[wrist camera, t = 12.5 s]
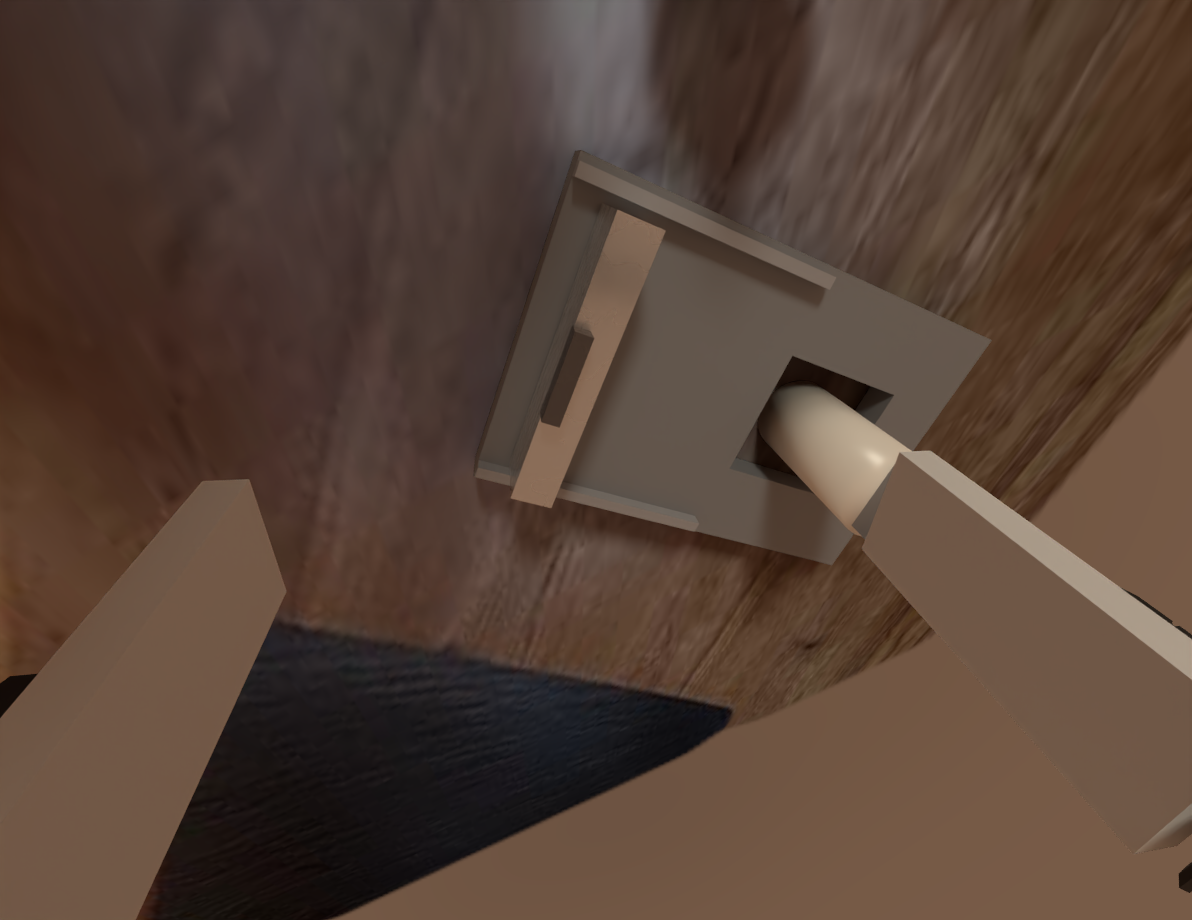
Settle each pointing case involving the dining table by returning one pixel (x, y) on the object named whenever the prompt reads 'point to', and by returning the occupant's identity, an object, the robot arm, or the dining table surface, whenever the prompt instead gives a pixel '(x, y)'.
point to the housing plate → (717, 367)
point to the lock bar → (582, 352)
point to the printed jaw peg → (831, 450)
